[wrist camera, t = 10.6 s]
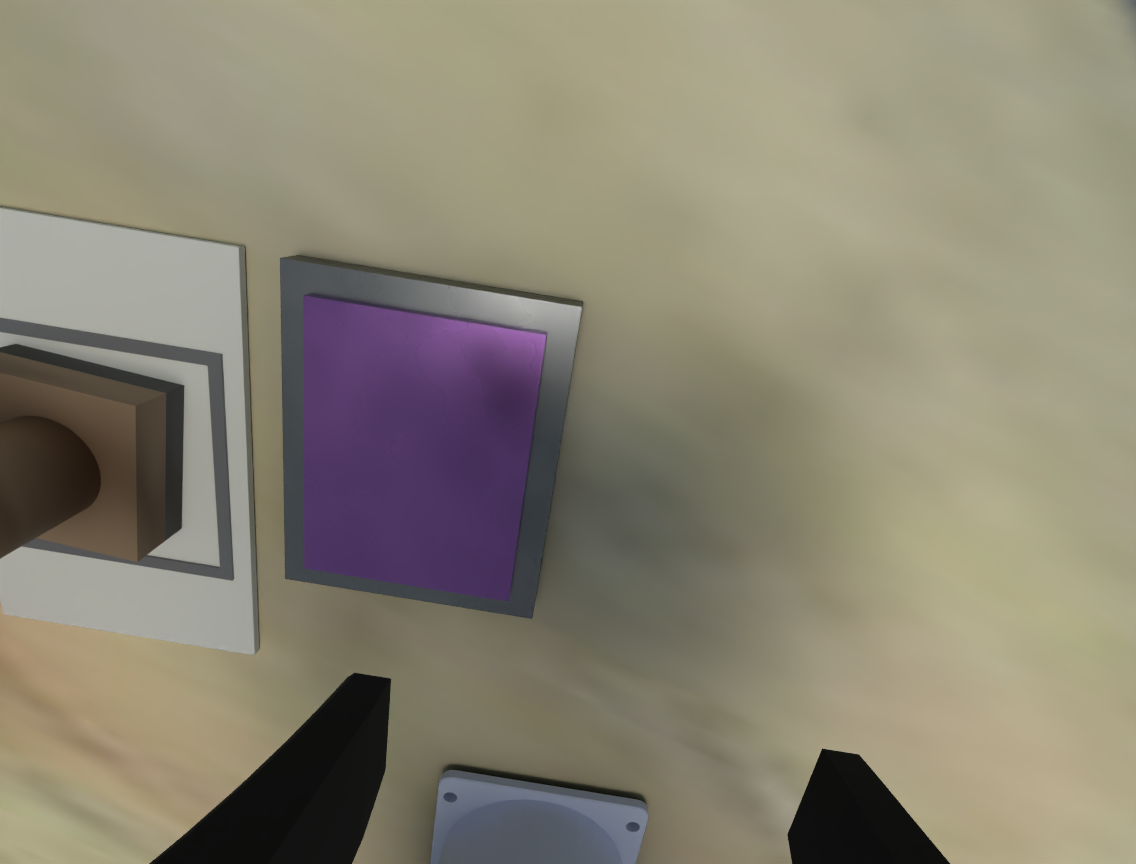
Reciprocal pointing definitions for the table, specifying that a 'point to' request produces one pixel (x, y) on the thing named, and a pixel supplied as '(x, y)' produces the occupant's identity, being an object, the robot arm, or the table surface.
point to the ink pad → (420, 432)
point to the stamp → (87, 455)
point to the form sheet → (211, 421)
